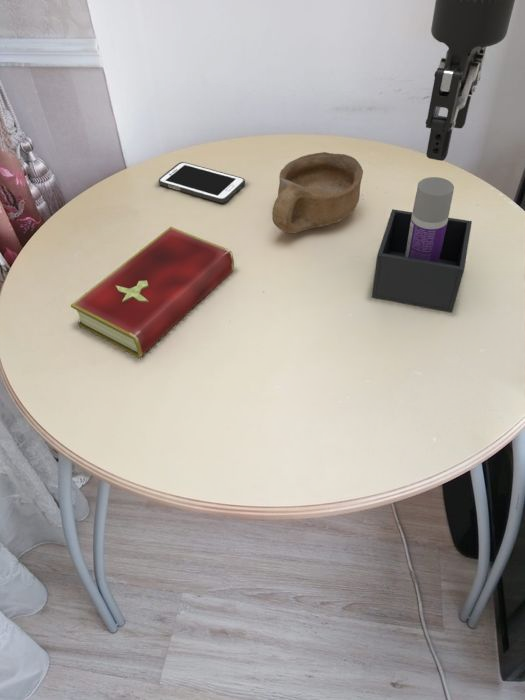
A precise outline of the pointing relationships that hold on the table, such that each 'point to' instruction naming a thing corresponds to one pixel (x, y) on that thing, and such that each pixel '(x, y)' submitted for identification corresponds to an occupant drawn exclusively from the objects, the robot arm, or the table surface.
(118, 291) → the hardcover book
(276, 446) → the table surface
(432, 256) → the container
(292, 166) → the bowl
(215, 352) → the table surface
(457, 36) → the robot arm
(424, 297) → the bin
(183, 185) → the cell phone
